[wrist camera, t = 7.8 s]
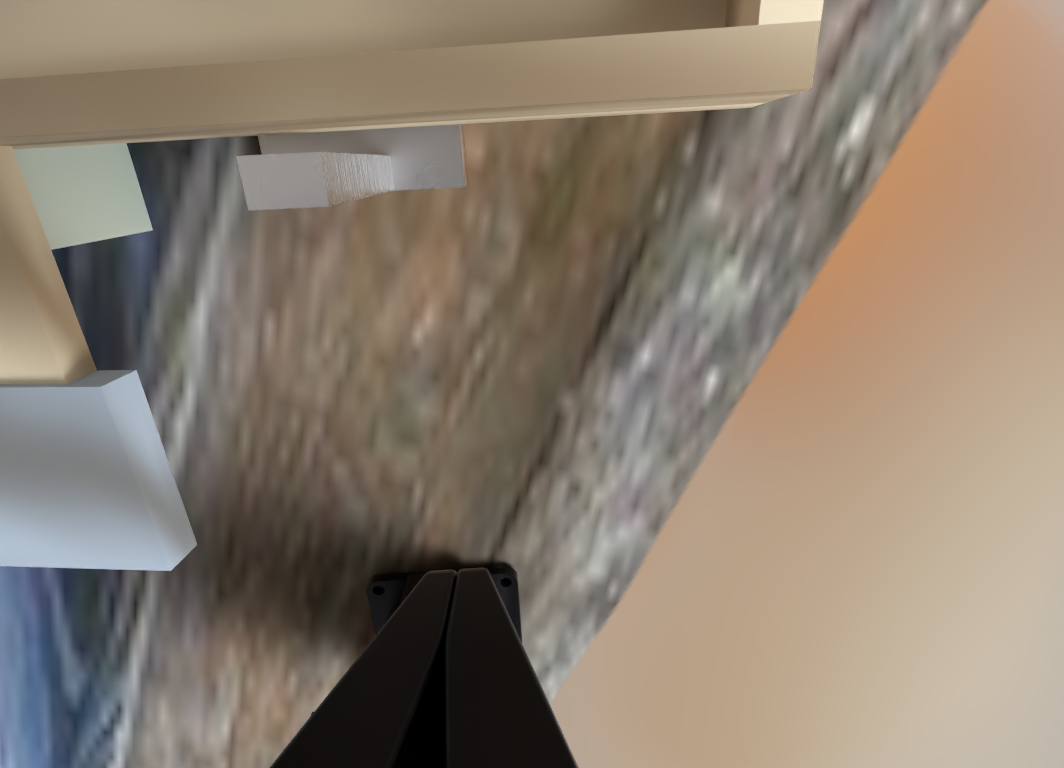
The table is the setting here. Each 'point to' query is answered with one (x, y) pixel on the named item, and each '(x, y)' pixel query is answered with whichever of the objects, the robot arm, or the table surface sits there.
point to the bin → (84, 192)
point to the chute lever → (286, 108)
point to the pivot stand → (350, 165)
